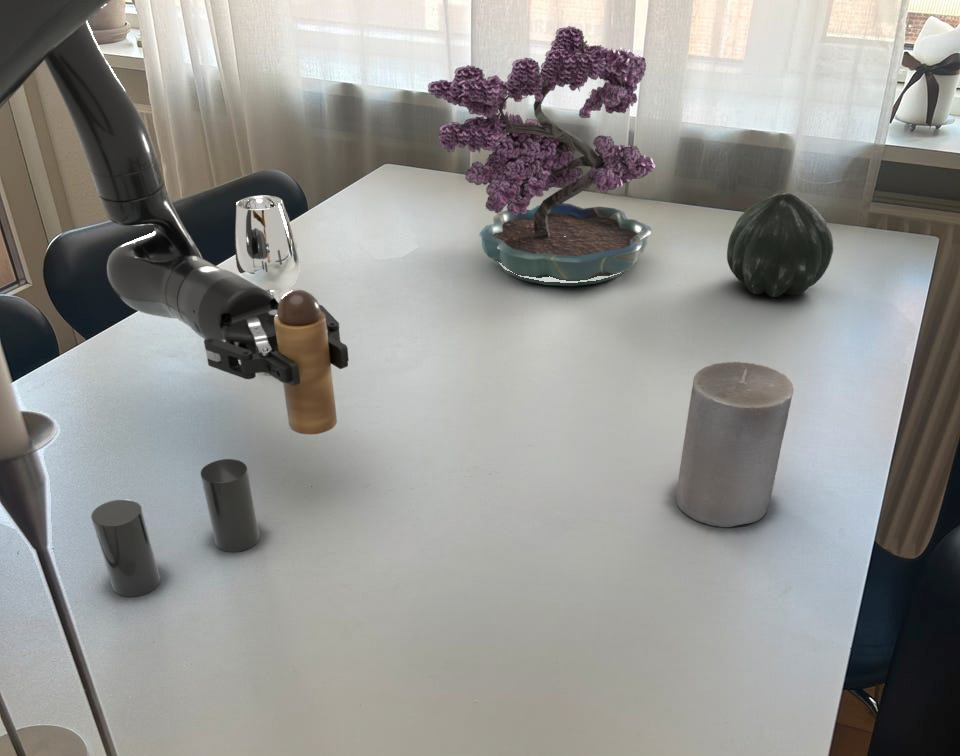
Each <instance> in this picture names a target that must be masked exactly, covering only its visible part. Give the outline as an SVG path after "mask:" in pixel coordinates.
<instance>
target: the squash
mask: <svg viewBox="0 0 960 756" xmlns="http://www.w3.org/2000/svg"><path fill="white" fill-rule="evenodd" d="M833 254H834V239H833V235H832V232H831V229H830V227H829V225H828V223H827V221H826V220H825V219H824V217H823V216H822V215H821V213H820V212H819V211H818V210H817V209H816V208H814V206H813V205H811V204H810V203H809V202H807V201H806V200H805V199H804V198H802V197H801V196H799V195H797V194H794V193H792V192H788V191H787V192H786V191H782V192H781V191H780V192H777V193H775V194H773V195H772V196H771V195H770V196H769V197H767V198H765V199H762V200H761V201H758V202H756V203H755V204H753V205H751V206H749V208H747V209H746V210H744V212H743V213H742V214H741V215H740V217H738V219H737V220H736V223H735V224H734V228H733V229H732V230H731V233H730V235H729V238H728V242H727V247H726V261H727V265H728V267H729V269H730V271H731V273H732V274H733V275H734V277H735V278H736V279H737V280H738V282H740V283H742V284H744V285H745V286H746V289H747V291H749V293H751V294H752V295H754V296H755V295H756V296H757V295H762V294H764V293H766V295H768V296H769V297H771V298H779V297H780V296H782V295H783V294H784V293H785V294H786V295H789V296H799V295H802V294H803V293H804V292H806V291H807V290H809V288H810V287H812V286H814V285H815V284H816V283H818V281H820V280H821V278H822V277H823V276H824V275H825V273H826V271H827V269H828V267H829V266H830V263H831V260H832V256H833Z"/></svg>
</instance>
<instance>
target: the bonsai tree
mask: <svg viewBox="0 0 960 756" xmlns="http://www.w3.org/2000/svg"><path fill="white" fill-rule="evenodd" d="M554 34H555V38H554V40H552V41H551V43H550V46H551V47H550V50H547V51H546V52H545V55H544V56H545V58H544V60H545V61H544V62H542V63H541V65H539V62H538V61H536V60H535V59H533V58H531V57H524V58H519V59H516V60H514V61H513V62H512V63H511V66H512V68H511V72H510V73H509V74H508V75H507V78H506V79H507V81H504V80H501V78H500V76H498V75H497V74H496V75H492V76H488V77H486V74H484V72H483V71H484V70H483V69H481V68H479V67H476V66H475V65H469V64H467V65H466V66H461V67H460V66H459V67H458V68H455V70H454V74H455V75H454V78H453V80H452V81H448V79H439V80H435V81H431V82H429V83H428V84H427V88H428V89H427V92H428V93H429V94H430V95H431V96H435V98H436V99H438V100H441V99H442V100H444V101H447V103H448V104H452V105H453V106H457V105H458V107H463V108H466V109H467V110H468V113H469V114H470V115H477V116H475V117H470V118H467V119H465V121H464V123H462V124H460V122H458V121H456V122H455V121H451V122H450V123H449V122H447V123H443V124H441V125H440V126H439V128H438V130H439V133H438V139H439V145H440V147H441V148H442V149H444V150H446V151H447V152H448V153H454V152H455V149H456V147H458V148H461V149H465V148H466V146H467V147H468V149H469V151H470V152H471V153H475V152H476V151H477V152H478V153H479V154H481V149H482V150H484V151H489V152H491V153H490V154H488V157H487V158H486V162H485V164H484V165H483V163H482V162H481V161H475V162H472V163H471V166H470V167H469V168H468V169H467V171H466V172H465V180H466V181H467V182H468V183H469V184H475V185H476V186H481V185H482V184H483V185H484V186H485V185H487V184H488V183H489V184H488V185H487V186H486V187H485V190H486V191H485V193H486V194H487V195H488V197H487V200H486V201H485V210H488V211H489V212H494V214H495V215H494V216H493V217H492V221H493V223H491V224H487V225H485V226H484V227H483V228H482V230H480V231H479V233H478V236H479V237H480V238H481V246H482V249H483V253H484V254H485V255H486V256H487V257H489V258H490V259H492V260H494V261H495V262H496V261H498V262H500V263H502V265H503V266H505V267H506V268H507V269H509V270H510V271H512V272H513V273H512V272H510V271H507V270H505V269H504V268H503V267H502V266H501V265H500V264H499V263H498V262H497V264H498V265H499V266H500V268H501V269H502V270H503V272H504V273H505V274H508V275H510V276H512V277H515V278H517V279H519V280H521V281H525V282H529V283H534V284H539V285H544V286H561V287H577V286H584V285H585V286H586V285H595V284H600V283H603V282H607V281H610V280H613V279H617V278H619V277H620V276H621V275H622V274H624V273H625V272H627V271H628V270H631V269H632V268H633V267H634V266H635V264H636V262H637V260H638V257H639V255H640V254H641V253H643V252H645V249H646V246H647V244H648V237H649V236H650V235H651V234H652V228H651V227H650V225H647V224H645V223H643V222H641V221H639V220H637V219H631V218H630V219H629V218H628V217H627V215H626V213H625V212H624V211H623V210H621V209H619V208H616V207H608V206H592V207H584V208H583V207H581V206H578V205H575V204H572V203H570V202H569V203H567V201H569V200H570V199H572V198H573V197H575V196H577V195H578V194H580V193H582V192H583V191H585V190H587V189H588V188H590V187H591V186H592V185H593V184H594V185H596V187H595V189H598V190H599V191H600V193H601V194H607V193H608V192H609V191H613V190H615V189H616V188H620V187H621V188H624V184H627V183H631V181H633V180H637V179H639V180H640V179H642V178H644V177H646V176H648V174H649V173H653V171H654V169H656V168H657V166H656V163H655V162H654V159H653V158H652V157H651V156H646V155H645V154H641V151H640V150H639V148H638V147H637V145H632V144H629V145H627V146H626V144H625V145H622V144H619V145H616V144H615V141H614V140H613V138H612V136H611V135H608V136H607V135H603V134H602V135H597V137H596V136H595V138H593V146H594V147H595V148H594V149H593V148H592V147H591V146H590V145H589V144H587V143H586V142H585V141H584V140H582V139H581V138H579V137H577V136H576V135H575V134H573V133H571V132H570V131H567V129H565V128H563V127H561V126H560V125H558V124H557V123H555V122H554V121H552V120H551V119H550V118H548V117H547V116H546V114H545V113H544V111H543V110H542V104H543V101H544V100H545V98H546V97H547V95H548V94H549V93H550V92H552V91H555V89H556V86H558V87H560V88H564V87H565V86H568V88H569V89H570V91H572V92H574V91H576V90H578V92H579V93H580V92H581V87H584V86H585V83H587V82H588V79H589V78H590V80H593V81H594V80H595V81H596V80H598V79H599V80H603V81H604V84H603V85H602V86H598V87H596V88H592V89H591V91H589V93H588V95H589V98H586V99H585V102H584V104H583V107H581V108H579V112H578V116H579V117H580V118H581V119H590V118H591V115H592V112H598V111H599V112H600V111H601V110H602V108H603V104H604V108H605V112H606V113H607V114H611V115H612V114H613V113H614V112H615V113H617V114H618V113H619V114H625V113H626V112H627V109H628V110H630V106H631V107H634V104H636V103H637V102H638V96H637V94H636V90H637V89H638V84H639V83H640V82H642V80H643V77H644V76H645V72H646V70H647V62H646V58H645V57H642V56H639V55H636V53H635V52H631V48H628V49H627V48H626V47H625V48H624V49H623V47H622V46H621V47H619V48H618V49H617V48H616V49H615V48H613V47H612V48H611V49H609V48H608V47H605V46H602V44H599V45H590V46H589V44H587V43H588V40H584V39H585V36H584V32H583V30H581V29H580V28H576V26H570V25H568V26H566V27H561V28H560V27H559V28H557V30H556V31H555V33H554ZM528 96H529V97H532V96H534V103H533V112H534V117H535V118H536V119H532V118H526V120H525V122H524V120H523V119H522V117H521V115H520V114H518V113H517V114H516V115H514V112H512V113H509V111H508V110H506V109H507V100H508V99H509V98H510V99H513V102H514V103H515V102H516V103H521V102H522V100H523V99H526V98H527V97H528ZM503 110H506V112H505V113H504V111H503ZM481 115H482V116H481ZM575 151H576V152H578V153H579V154H581V155H582V156H580V157H576V158H574V154H575ZM581 167H590V169H589V170H588V171H587V172H586V173H585V174H584V172H583V169H582V168H581ZM567 182H568V184H567V185H565V184H566V183H567ZM555 185H557V187H561V188H560V189H558V190H557V191H555V192H554V193H552V194H551V195H549V196H548V197H546V198H545V199H543V200H542V202H541V203H540V204H539V205H536V206H535V207H533V208H531V209H527V208H528V207H529V206H530V204H531V200H532V199H533V198H534V197H537V198H541V197H542V198H543V196H544V192H543V191H545V192H548V191H549V190H550V189H552V188H553V187H554V186H555ZM564 185H565V186H564ZM563 186H564V187H563ZM505 207H506V210H504V208H505ZM564 236H566V237H564ZM620 272H621V273H620ZM514 273H515V274H514ZM617 273H620V274H617ZM516 274H517V275H516ZM613 274H617V275H614V276H611V277H608V278H604V279H601V280H596V281H587V282H578V283H560V282H544V281H539V280H534V279H529V278H524V277H520V276H518V275H521V276H529V277H536V278H542V277H549V276H550V277H553V278H556V279H559V280H566V281H580V280H588V279H591V278H594V277H597V276H610V275H613Z"/></svg>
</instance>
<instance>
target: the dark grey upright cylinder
mask: <svg viewBox="0 0 960 756" xmlns="http://www.w3.org/2000/svg"><path fill="white" fill-rule="evenodd" d="M90 519H91V522H92V525H93V528H94V532H95V534H96V538H97V541H98V544H99V547H100V551H101V554H102V558H103V561H104V564H105V567H106V570H107V573H108V577H109V580H110V584H111V587H112V590H113V591H114V592H115V593H116V594H118V595H119V596H122V597H127V598H134V597H139V596H140V597H141V596H144V595H146V594H149V593H150V592H152V591H154V590H155V589H156V588H157V587H159V585H160V582H161V576H160V572H159V568H158V565H157V562H156V557H155V553H154V550H153V546H152V543H151V539H150V535H149V531H148V527H147V524H146V519H145V517H144V513H143V509H142V506H141V505H140V503H138V501H134V500H133V499H132V500H131V499H114V500H110V501H107V502H104V503H102V504H100V505H98V506H97V507H96V508H95V509H94V510H93V511H92V512H91V516H90Z"/></svg>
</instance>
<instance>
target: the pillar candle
mask: <svg viewBox="0 0 960 756" xmlns="http://www.w3.org/2000/svg"><path fill="white" fill-rule="evenodd" d="M691 386H692V387H691V393H690V398H689V405H688V412H687V418H686V426H685V431H684V438H683V445H682V452H681V459H680V464H679V465H680V466H679V472H678V478H677V480H678V481H677V485H676V492H675V502H676V506H678V509H680V511H682V513H683V514H685V515H686V516H688V517H690V518H691V519H692V520H694V521H697V522H699V523H702V524H705V525H708V526H713V527H714V526H715V527H719V528H731V527H736V526H742V525H747V524H752V523H756V522H758V521H760V520H761V519H762V518H764V516H765V515H766V514H767V513H768V510H769V506H770V502H771V498H772V493H773V489H774V485H775V480H776V474H777V471H778V466H779V465H778V464H779V460H780V455H781V449H782V445H783V440H784V436H785V432H786V429H787V428H786V427H787V424H788V418H789V412H790V408H791V403H792V398H793V395H794V386H793V382H792V381H791V380H790V378H789V377H787V375H785V374H784V373H782V372H780V371H778V370H776V369H773V368H771V367H768V366H765V365H761V364H756V363H753V362H751V363H750V362H741V361H726V362H720V363H713V364H710V365H706V366H704V367H702V368H701V369H699V370H698V371H697V372H696V373H695V374H694V375H693V379H692V385H691Z"/></svg>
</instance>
